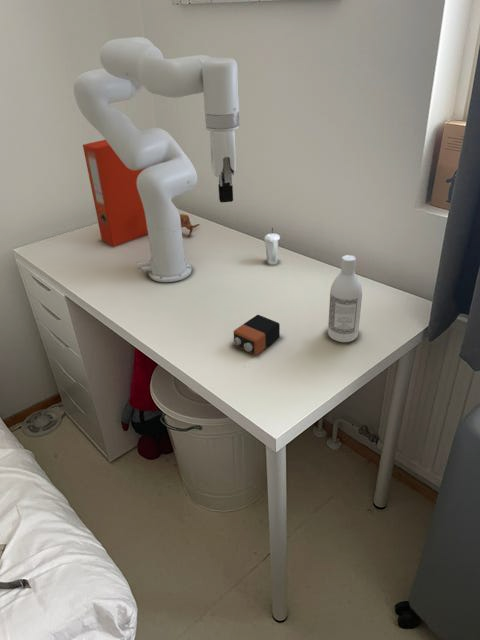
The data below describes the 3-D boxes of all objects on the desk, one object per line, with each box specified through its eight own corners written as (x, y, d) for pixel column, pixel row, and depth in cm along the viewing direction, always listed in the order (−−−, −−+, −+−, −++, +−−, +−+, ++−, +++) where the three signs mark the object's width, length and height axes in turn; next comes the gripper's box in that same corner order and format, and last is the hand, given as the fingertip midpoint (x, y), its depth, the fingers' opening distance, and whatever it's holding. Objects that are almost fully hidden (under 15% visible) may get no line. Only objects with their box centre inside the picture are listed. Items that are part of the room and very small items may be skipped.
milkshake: (280, 258, 154) (280, 227, 149) (279, 265, 150) (279, 234, 144) (265, 258, 155) (264, 227, 149) (264, 265, 150) (263, 234, 145)
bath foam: (337, 323, 122) (342, 248, 111) (363, 333, 118) (371, 255, 107) (322, 336, 118) (326, 259, 107) (348, 346, 114) (355, 267, 103)
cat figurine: (193, 225, 180) (189, 188, 172) (206, 229, 176) (203, 191, 169) (156, 243, 168) (150, 203, 161) (170, 247, 164) (165, 207, 157)
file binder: (156, 231, 177) (143, 137, 159) (114, 246, 167) (95, 148, 150) (143, 225, 182) (129, 133, 164) (101, 240, 172) (82, 144, 155)
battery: (280, 338, 118) (253, 358, 112) (258, 328, 122) (230, 347, 115) (280, 322, 115) (253, 342, 109) (257, 313, 119) (229, 332, 113)
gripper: (202, 115, 117) (207, 192, 127) (208, 129, 104) (214, 213, 114) (234, 113, 118) (237, 189, 128) (244, 127, 105) (246, 210, 115)
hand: (226, 200), depth 121 cm, fingers closed
